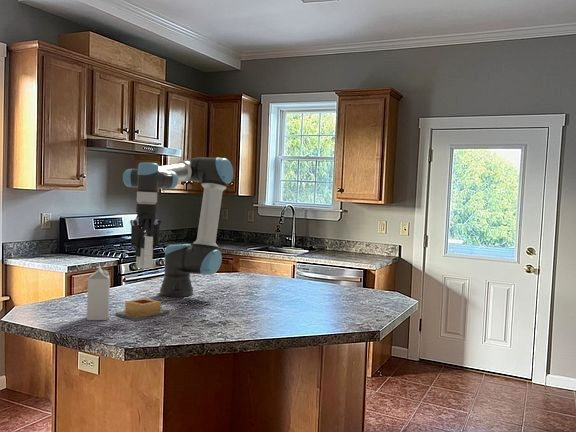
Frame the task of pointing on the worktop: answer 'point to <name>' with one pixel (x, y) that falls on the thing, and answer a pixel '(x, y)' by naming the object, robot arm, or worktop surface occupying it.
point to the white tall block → (147, 252)
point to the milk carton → (98, 295)
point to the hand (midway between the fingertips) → (144, 264)
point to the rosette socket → (142, 309)
